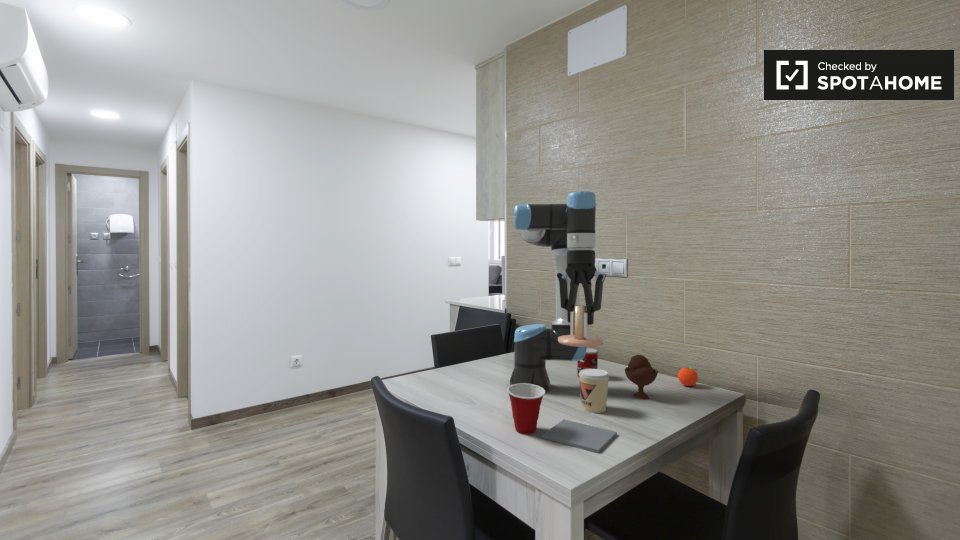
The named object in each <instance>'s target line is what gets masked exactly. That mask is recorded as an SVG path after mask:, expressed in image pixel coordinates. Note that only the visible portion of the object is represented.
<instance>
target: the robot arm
mask: <svg viewBox="0 0 960 540" xmlns="http://www.w3.org/2000/svg"><path fill="white" fill-rule="evenodd" d="M596 197H597V196H596V193H595V192H593V191H589V190H586V191H584V190H580V191H579V190H578V191H572V192H568V194H567V200H566V203H523V204H522V203H521V204H516V205H515V206H514V210H513V213H514V214H513V216H514V217H513V219H514V221H513V222H514V224H513V225H514V228H515V230H518V231H519V236H520V237H521V238H522V240H523V241H525V242H526V243H528V244H530V245H533V246H536V247H542V248H543V247H547V248H549V247H550V248H551V249H550V250H551V253H552V254H553V255H554V256H555V319H554V320H553V322H551V328H547V326H546V324H543V323H540V324H539V323H536V324H535V323H534V324H532V323H531V324H526V325H521V326H519V327H517V328H516V329H515V331H514V339H513V342H514V350H513V351H514V356H513V357H514V363H513V370H512V373H511V376H510V379H509V386H511V385H513V384H520V383H526V384H533V385H537V386H540V387H542V388H543V389H544V390H545V393H546V392H549V390H550V389H551V380H550V377H549V374H548V371H547V368H546V364H547V363H546V361H557V362H559V361H560V362H561V361H563V362H565V361H566V362H577V361H580V360H582V359H583V358H584V357H585V354H586V349H587V348H588V347H576V346H568V345H563V344H560V343H558V337H560V336H564V335H571V336H574V310H575V305H580V284H581V285H582V289H583V294H584V302H585V306H586V309H587V311H586V312H585V313H584V337H589V336H591V326H592V325H594V322H595V321H594V320H595V318H594V317H595V316H594V315H595V314H594V313H595V312H598V311H600V310H601V308H602V299H603V291H604V289H603V288H604V282H605V279H606V277H607V274H606V273H601V272H598V271H597V268H596V251H595V250H594V249H595V248H596V215H597V214H596V207H597V202H596V201H597V200H596V199H597V198H596ZM593 278H594V279H595V284H594V295H593V291H592V280H593Z"/></svg>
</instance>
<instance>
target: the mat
mask: <svg viewBox="0 0 960 540" xmlns="http://www.w3.org/2000/svg"><path fill="white" fill-rule="evenodd" d="M617 435H618V431H615V430H612V429H611V430H610V429H607V428H603V427H598V426H593V425H590V424H586V423H581V422H577V421H572V420H568V419H562V420H561V421H559V422H558V423H557V424H555V425H554V426H552V427H551V428H549V429H548V430H546V431H545V432H544V433H542V434H541V438H542V439H545V440H548V441H552V442H556V443H558V444H559V443H560V444H562V445H566V446H569V447H575V448H578V449H581V450H585V451H589V452H593V453H595V454H599V453H600V452H601V451H602V450H603V449H604V448H605V447H606V446H607V445H608V444H609V443H610V442H611V441H612V440H614V438H615V437H616V436H617Z"/></svg>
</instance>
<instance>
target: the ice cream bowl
mask: <svg viewBox="0 0 960 540" xmlns="http://www.w3.org/2000/svg"><path fill="white" fill-rule="evenodd" d="M627 365H628V366H627V367H625V368H624V374H625V377H626V378H627V379H628V380H629V381H630V382H632V383H633V384H634V385H637V387H638V388H637V389H638V390H637V391H636V392H635V393H633V394H632V397H633V398H634V399H636V400H649V399H650V396H649V395H648V394H647V393H645V392H644V391H645V389H644V388H645V386H649V385H651V384H652V383H654V381H655V380H656V379H657V376H658V373H659V370H658V369H655V368H654V367H652V364H651V363H650V362H649V359H648V358H647V357H646V356H644V355H643V354H635V355H633V356H632V357H631V358H630V359H629V362H628V364H627Z"/></svg>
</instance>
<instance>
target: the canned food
mask: <svg viewBox="0 0 960 540" xmlns="http://www.w3.org/2000/svg"><path fill="white" fill-rule="evenodd" d="M598 354H599V352H598V350H597V349H595V348H591V347H587V349H586V354H585V357H584V358H583V359H582V360H580V361H576V363H577V364H576V365H577V366H576V369H577V371H576V372H577V373H576V375H577V377H578V378H579V379H580V376H579V373H580V371H581V370H583V369H598V367H599V366H598V363H599V362H598V359H599V358H598V357H599V356H598Z"/></svg>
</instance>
